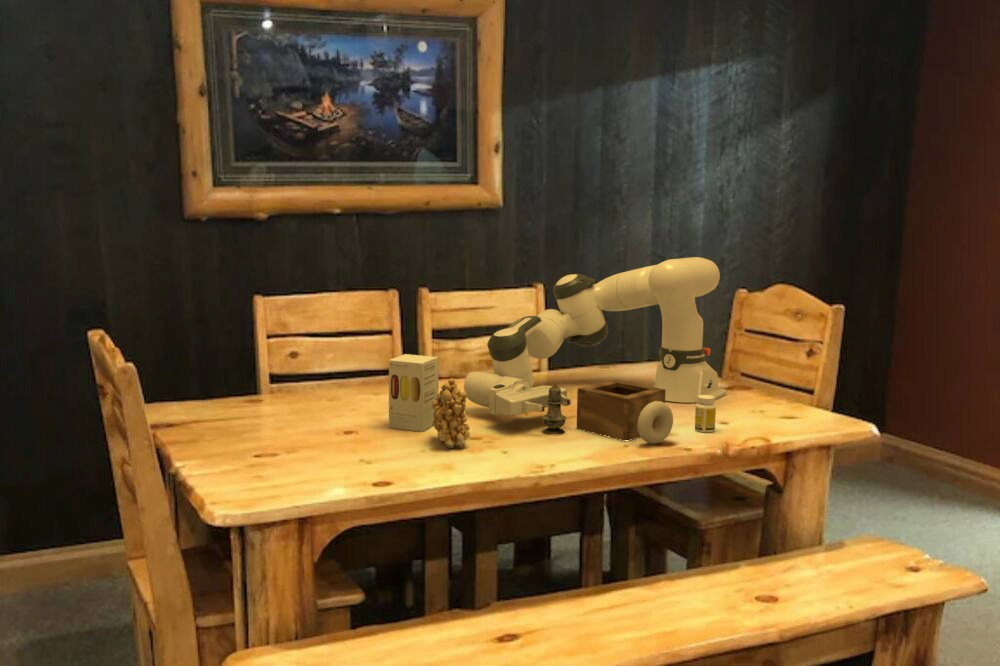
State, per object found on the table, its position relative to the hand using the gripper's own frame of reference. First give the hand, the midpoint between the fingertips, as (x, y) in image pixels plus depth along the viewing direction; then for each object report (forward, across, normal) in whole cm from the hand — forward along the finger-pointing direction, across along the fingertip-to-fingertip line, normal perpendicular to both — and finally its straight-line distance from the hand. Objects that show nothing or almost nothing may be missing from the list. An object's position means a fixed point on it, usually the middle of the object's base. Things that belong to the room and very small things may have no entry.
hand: (556, 405), depth 219 cm
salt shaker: (0, 0, -7) cm, 7 cm away
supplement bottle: (+24, -28, -7) cm, 37 cm away
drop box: (+9, -14, -6) cm, 17 cm away
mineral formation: (-10, +25, -7) cm, 28 cm away
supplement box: (-28, +21, -7) cm, 35 cm away
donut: (+22, -9, -7) cm, 25 cm away
